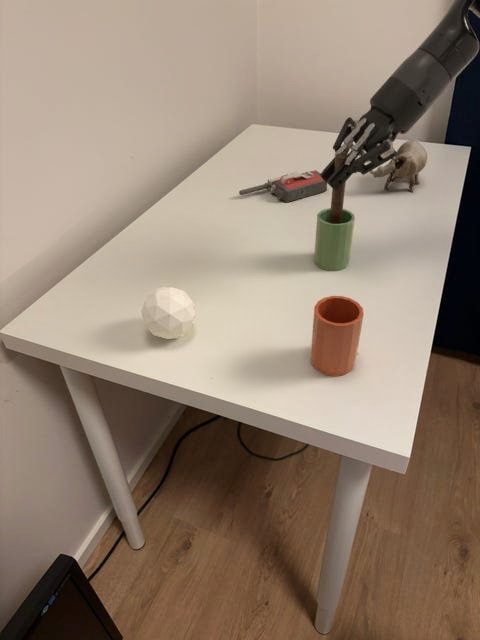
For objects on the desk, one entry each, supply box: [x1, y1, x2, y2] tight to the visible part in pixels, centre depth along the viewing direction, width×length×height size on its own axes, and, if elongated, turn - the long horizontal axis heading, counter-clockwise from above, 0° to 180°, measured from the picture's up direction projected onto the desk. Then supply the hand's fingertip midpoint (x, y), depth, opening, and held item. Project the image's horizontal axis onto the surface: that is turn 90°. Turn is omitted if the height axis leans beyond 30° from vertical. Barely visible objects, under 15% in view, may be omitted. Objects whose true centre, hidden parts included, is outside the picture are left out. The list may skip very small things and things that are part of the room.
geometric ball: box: [140, 286, 197, 340], centre depth 72 cm, size 8×8×8 cm
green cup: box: [313, 207, 356, 272], centre depth 85 cm, size 6×6×9 cm
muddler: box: [329, 154, 349, 224], centre depth 80 cm, size 4×4×16 cm
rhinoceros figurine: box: [369, 138, 428, 193], centre depth 108 cm, size 8×14×15 cm
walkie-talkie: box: [238, 169, 328, 203], centre depth 108 cm, size 9×4×20 cm
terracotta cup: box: [310, 295, 365, 377], centre depth 65 cm, size 6×6×9 cm
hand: (327, 182), depth 77 cm, fingers closed on muddler, 2 cm apart
